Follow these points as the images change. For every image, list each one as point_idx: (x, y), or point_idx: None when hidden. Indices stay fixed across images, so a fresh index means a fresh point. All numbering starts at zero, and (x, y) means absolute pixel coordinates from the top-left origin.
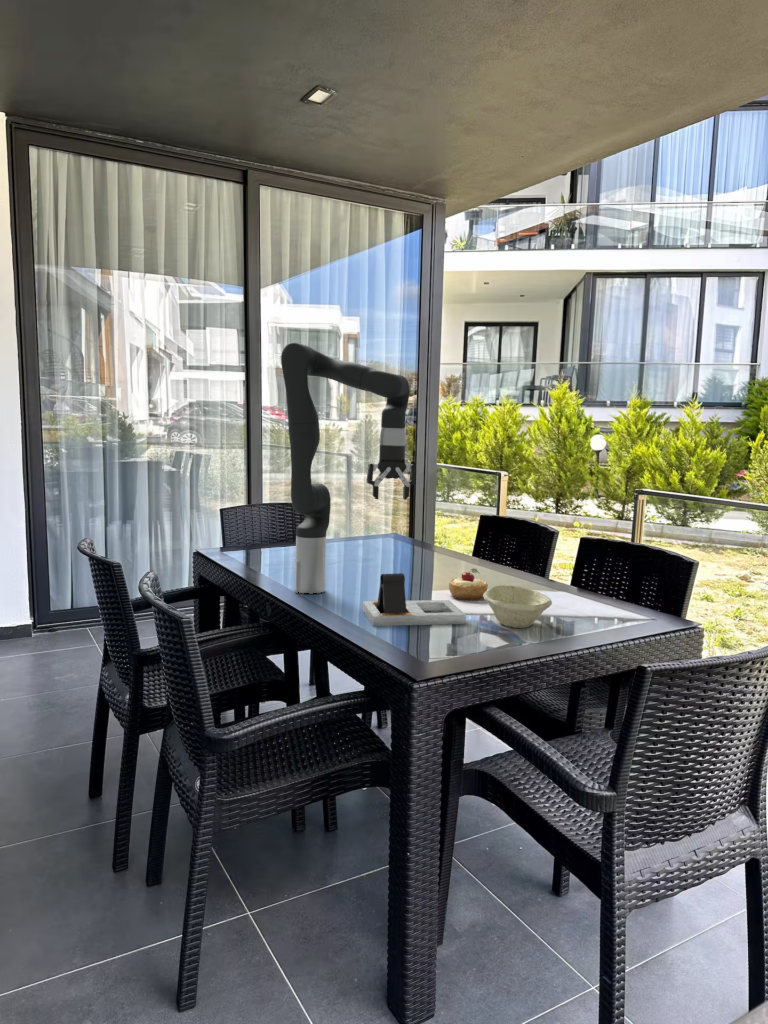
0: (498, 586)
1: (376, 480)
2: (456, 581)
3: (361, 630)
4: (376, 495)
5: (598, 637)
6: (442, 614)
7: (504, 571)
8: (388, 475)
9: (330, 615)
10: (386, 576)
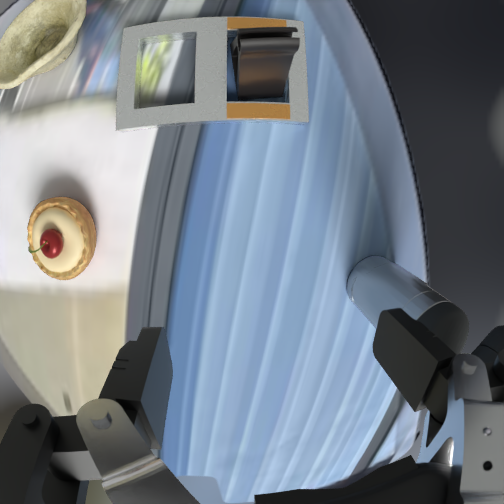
0: (35, 61)
1: (486, 393)
2: (75, 234)
3: (320, 14)
4: (409, 316)
5: (4, 24)
6: (166, 24)
7: (31, 390)
8: (414, 494)
9: (363, 101)
10: (288, 27)
